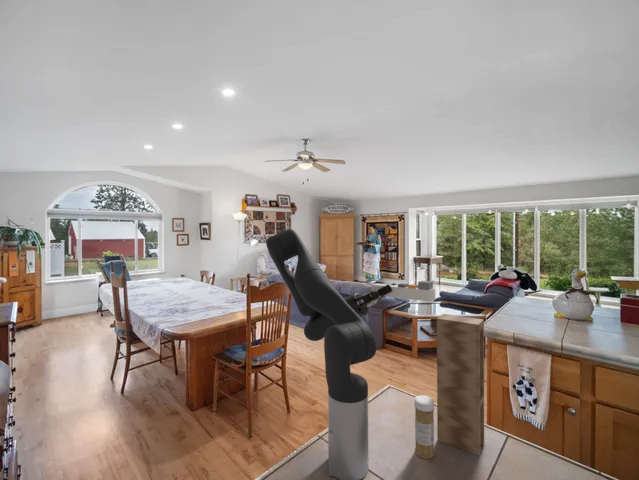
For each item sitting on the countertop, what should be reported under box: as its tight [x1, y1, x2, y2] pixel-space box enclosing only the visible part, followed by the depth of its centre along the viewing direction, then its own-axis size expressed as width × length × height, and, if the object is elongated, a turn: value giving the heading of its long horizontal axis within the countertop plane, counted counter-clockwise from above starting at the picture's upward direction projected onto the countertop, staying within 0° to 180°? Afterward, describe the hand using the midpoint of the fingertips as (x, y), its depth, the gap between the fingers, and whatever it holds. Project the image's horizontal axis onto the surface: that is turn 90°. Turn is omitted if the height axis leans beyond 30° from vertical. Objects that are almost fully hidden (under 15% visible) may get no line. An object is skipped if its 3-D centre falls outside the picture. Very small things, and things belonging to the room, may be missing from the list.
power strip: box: [370, 280, 436, 303], centre depth 91 cm, size 18×4×5 cm, turn 52°
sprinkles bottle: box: [414, 395, 435, 460], centre depth 77 cm, size 5×5×14 cm
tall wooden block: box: [436, 313, 485, 457], centre depth 81 cm, size 10×6×32 cm, turn 52°
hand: (393, 286), depth 92 cm, fingers closed on power strip, 3 cm apart
